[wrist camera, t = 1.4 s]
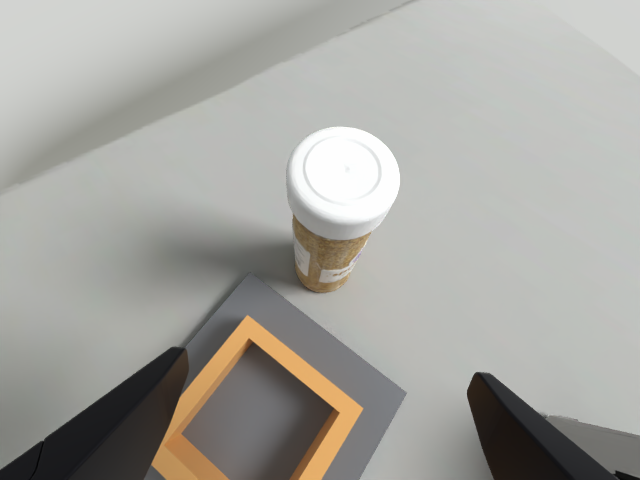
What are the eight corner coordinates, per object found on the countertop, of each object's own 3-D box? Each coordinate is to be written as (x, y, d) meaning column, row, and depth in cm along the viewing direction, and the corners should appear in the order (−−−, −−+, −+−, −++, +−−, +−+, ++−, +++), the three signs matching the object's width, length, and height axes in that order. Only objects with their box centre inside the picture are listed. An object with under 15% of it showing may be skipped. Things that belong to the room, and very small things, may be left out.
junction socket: (276, 618, 16) (270, 679, 13) (105, 445, 19) (66, 462, 16) (403, 391, 21) (420, 398, 18) (251, 274, 23) (244, 262, 20)
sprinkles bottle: (344, 299, 23) (394, 234, 11) (287, 286, 23) (270, 206, 11) (355, 245, 25) (409, 134, 12) (302, 233, 25) (301, 110, 12)
